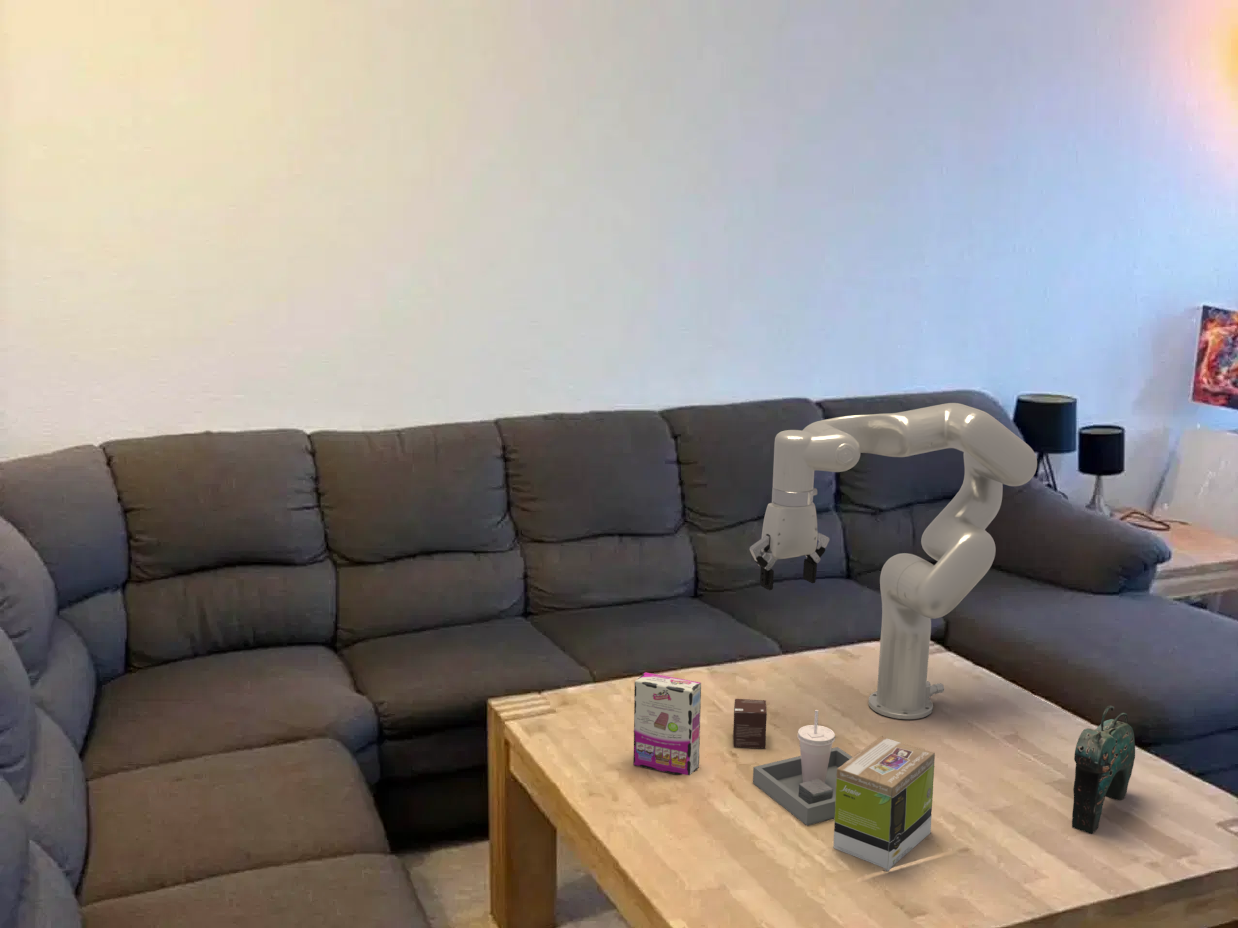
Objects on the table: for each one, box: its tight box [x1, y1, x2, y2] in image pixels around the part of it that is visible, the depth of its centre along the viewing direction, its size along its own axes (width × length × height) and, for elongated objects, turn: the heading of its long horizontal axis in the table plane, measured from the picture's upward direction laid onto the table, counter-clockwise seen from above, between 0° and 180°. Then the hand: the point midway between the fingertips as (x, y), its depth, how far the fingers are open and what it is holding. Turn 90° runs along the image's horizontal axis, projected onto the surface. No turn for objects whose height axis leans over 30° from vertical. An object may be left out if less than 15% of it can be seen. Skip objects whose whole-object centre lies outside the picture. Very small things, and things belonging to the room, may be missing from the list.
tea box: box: [832, 735, 936, 872], centre depth 198 cm, size 15×10×15 cm, turn 141°
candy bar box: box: [632, 671, 702, 776], centre depth 222 cm, size 11×5×16 cm, turn 65°
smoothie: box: [797, 709, 836, 783], centre depth 215 cm, size 6×6×14 cm
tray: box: [752, 746, 853, 826], centre depth 214 cm, size 18×16×4 cm
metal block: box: [798, 779, 833, 804], centre depth 208 cm, size 4×4×4 cm
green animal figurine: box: [1071, 705, 1136, 835], centre depth 208 cm, size 20×6×20 cm, turn 139°
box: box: [732, 698, 768, 750], centre depth 233 cm, size 6×6×7 cm
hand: (788, 584), depth 236 cm, fingers open, 9 cm apart
